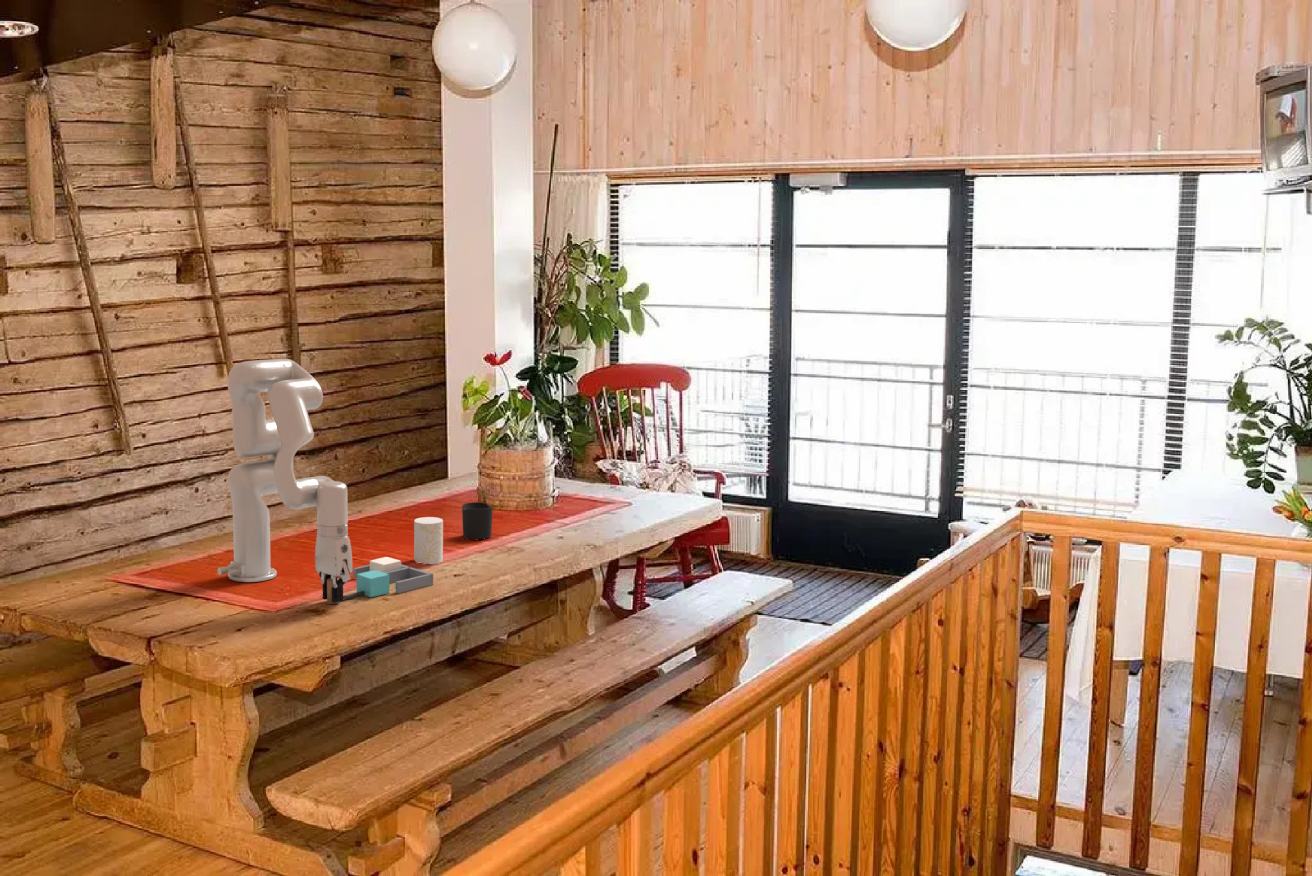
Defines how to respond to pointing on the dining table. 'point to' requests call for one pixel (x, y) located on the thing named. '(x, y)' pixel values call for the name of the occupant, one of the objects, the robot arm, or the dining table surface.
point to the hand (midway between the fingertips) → (332, 599)
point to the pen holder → (477, 520)
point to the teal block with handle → (364, 585)
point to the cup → (428, 540)
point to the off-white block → (385, 564)
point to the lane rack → (403, 577)
